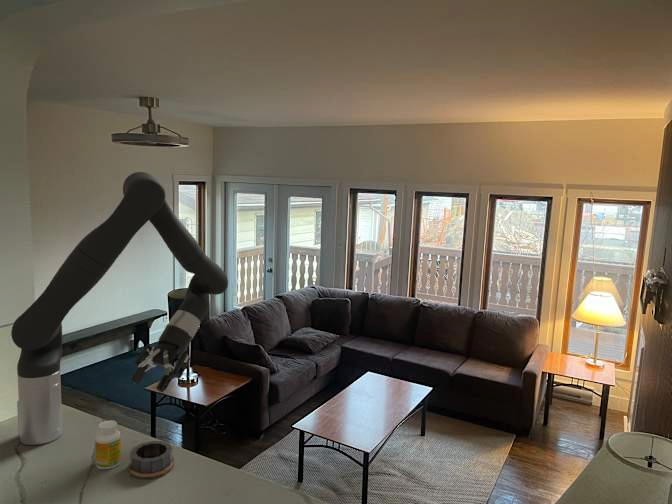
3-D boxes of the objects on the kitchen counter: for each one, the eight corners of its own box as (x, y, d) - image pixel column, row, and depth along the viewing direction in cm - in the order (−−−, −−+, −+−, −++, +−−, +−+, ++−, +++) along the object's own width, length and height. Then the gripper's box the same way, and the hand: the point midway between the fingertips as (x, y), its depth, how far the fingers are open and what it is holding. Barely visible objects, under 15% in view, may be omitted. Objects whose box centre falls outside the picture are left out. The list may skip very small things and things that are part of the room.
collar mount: (118, 471, 115) (118, 454, 114) (152, 451, 124) (152, 436, 123) (150, 484, 110) (150, 467, 110) (183, 462, 119) (183, 446, 119)
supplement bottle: (111, 471, 115) (110, 431, 113) (90, 468, 116) (89, 427, 114) (125, 459, 120) (125, 420, 119) (105, 456, 121) (105, 417, 120)
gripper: (152, 319, 135) (117, 374, 126) (193, 328, 129) (159, 386, 120) (167, 334, 140) (134, 387, 132) (207, 343, 134) (175, 399, 126)
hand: (146, 387), depth 126 cm, fingers open, 8 cm apart
